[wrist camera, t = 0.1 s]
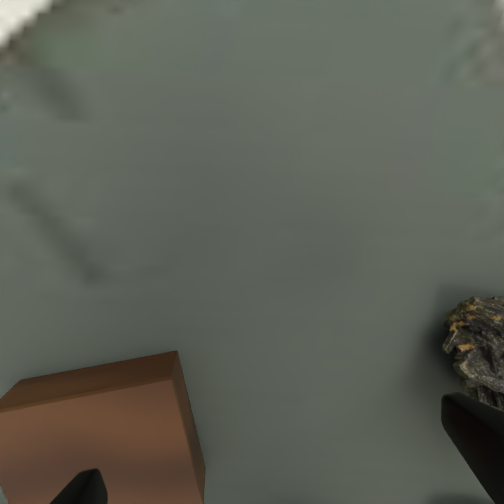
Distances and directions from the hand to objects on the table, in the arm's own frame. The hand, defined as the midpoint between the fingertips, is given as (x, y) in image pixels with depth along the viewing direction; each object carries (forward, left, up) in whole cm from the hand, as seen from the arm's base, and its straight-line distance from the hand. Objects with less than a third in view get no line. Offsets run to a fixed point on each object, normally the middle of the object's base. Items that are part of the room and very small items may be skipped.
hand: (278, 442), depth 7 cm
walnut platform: (-11, +12, -15) cm, 22 cm away
